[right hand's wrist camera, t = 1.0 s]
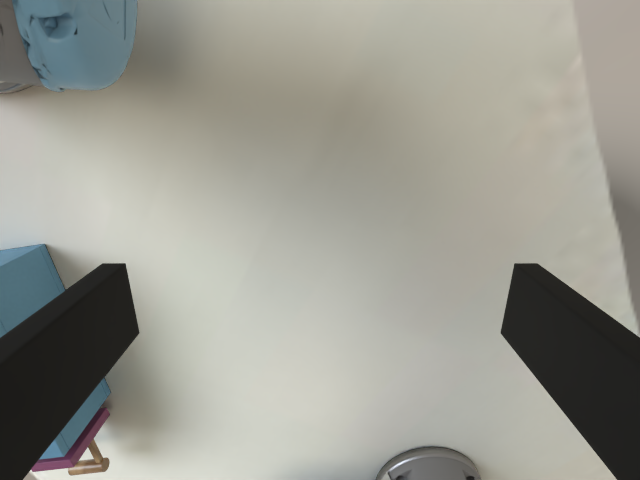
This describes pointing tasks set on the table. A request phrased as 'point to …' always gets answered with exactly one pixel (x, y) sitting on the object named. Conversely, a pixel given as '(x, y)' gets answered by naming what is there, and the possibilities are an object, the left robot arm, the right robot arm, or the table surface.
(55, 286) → the cabinet
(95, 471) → the drawer
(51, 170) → the table surface
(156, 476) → the table surface
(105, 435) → the table surface
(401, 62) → the table surface
